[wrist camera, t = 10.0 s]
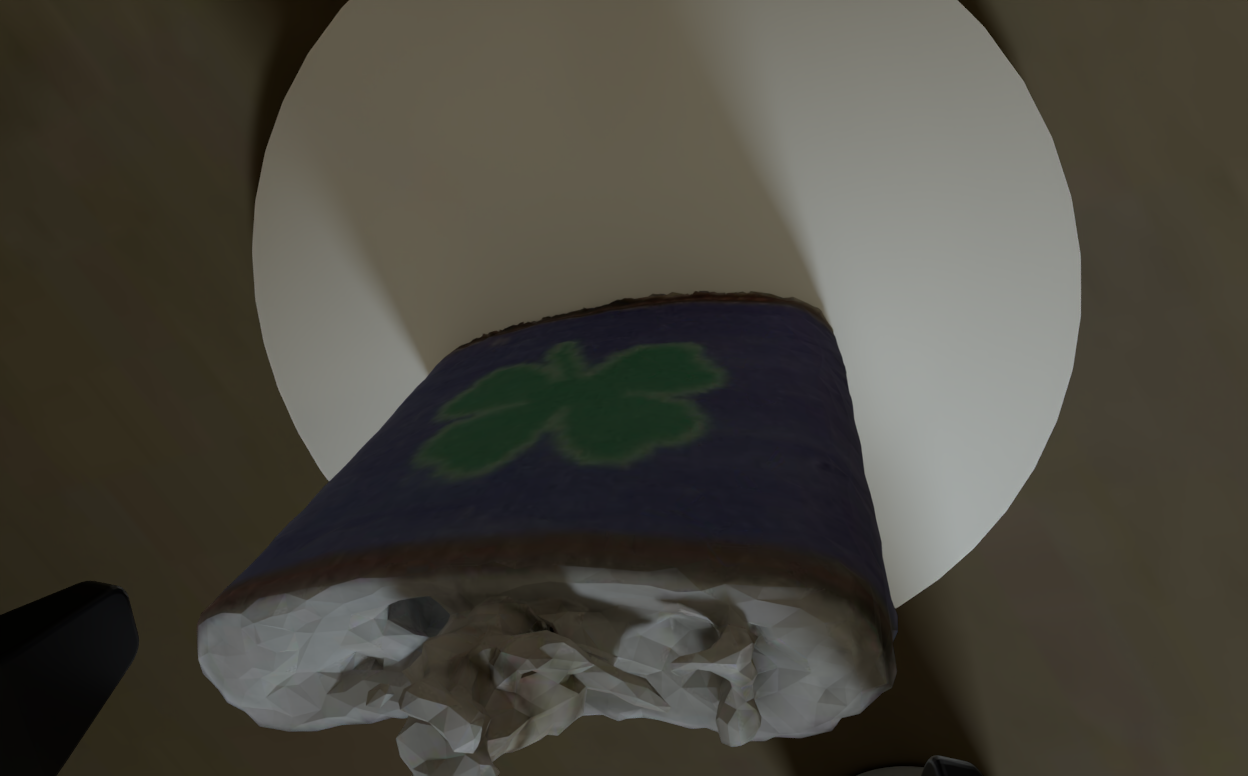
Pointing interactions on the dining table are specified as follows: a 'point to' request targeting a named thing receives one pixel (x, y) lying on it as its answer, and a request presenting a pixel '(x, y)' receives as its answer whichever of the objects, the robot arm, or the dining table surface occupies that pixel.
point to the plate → (684, 216)
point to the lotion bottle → (895, 771)
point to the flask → (582, 544)
